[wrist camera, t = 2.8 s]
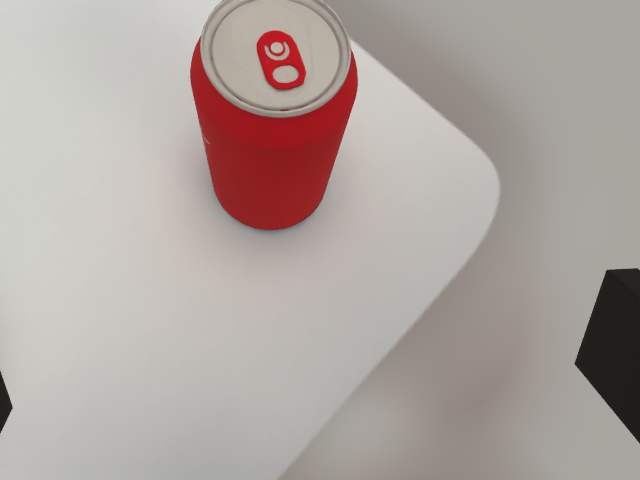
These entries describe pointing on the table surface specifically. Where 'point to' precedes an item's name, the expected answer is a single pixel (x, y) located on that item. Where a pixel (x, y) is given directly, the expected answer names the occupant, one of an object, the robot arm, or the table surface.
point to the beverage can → (272, 105)
